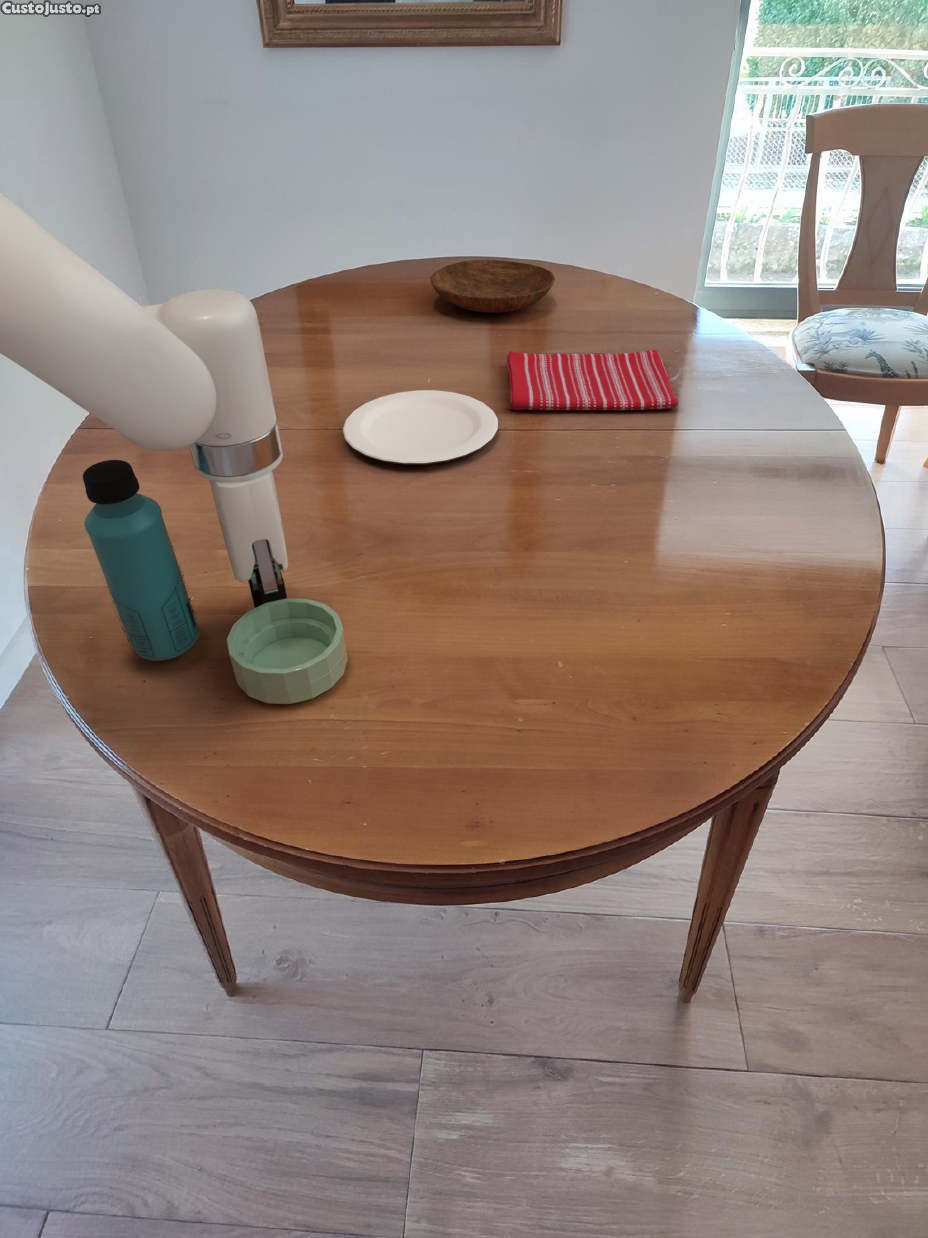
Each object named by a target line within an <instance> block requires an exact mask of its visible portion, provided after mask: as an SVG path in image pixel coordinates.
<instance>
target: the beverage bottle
mask: <svg viewBox="0 0 928 1238" xmlns="http://www.w3.org/2000/svg"><path fill="white" fill-rule="evenodd" d="M82 481H83V485H84V489H85V494H86V497H87V500H89V502H91V503H93V504H94V505H93V506H92V508H91V509H90V510H89V512H88V513H87V515H86V517H85V519H84V525H83V526H84V529H85V531H86V533H87V534H88V537H89V540H90V542H91V545H92V547H93V550H94V552H95V553H94V554H95V556H96V558H97V561H98V563H99V565H100V568H101V571H102V575H103V578H102V579H103V581H104V579H105V582H106V585H105V584H104V585H105V587H106V589H107V591H108V594H109V597H110V599H112V602H113V606H114V607H115V608H114V610H115V611H116V612H117V614H116V616H117V619H118V620H119V622H121V624H120V626H121V628H122V631H123V633H124V636H125V637H126V639H127V642H128V644H129V647H131V649H132V651H133V652H134V653H135V654H137V656H138V657H140V658H142V659H144V660H148V661H153V662H154V661H155V662H157V661H158V662H159V661H161V662H162V661H167V660H171V659H174V658H177V657H179V656H181V655H183V654H185V653H186V652H188V651H189V650H190V649H192V647H193V646H194V645H195V643H196V642H197V641H198V637H199V632H200V630H199V625H198V618H197V614H196V611H195V609H194V607H193V605H192V598H191V597H192V596H191V594H190V592H189V590H188V586H187V582H186V581H185V579H184V577H185V576H184V572H183V571H182V570H183V569H182V567H180V565H181V563H180V562H179V561H178V559H177V552H176V550H175V548H174V546H173V544H172V542H171V538H170V536H169V533H168V529H167V526H166V523H165V521H164V517H163V512H162V511H163V510H162V508H161V505H160V504H159V503H158V502H157V501H156V500H155V499H153V498H151V497H149V496H146V495H143V494H141V493H138V492H139V490H140V482H139V479H138V478H137V476H136V474H135V472H134V469H133V467H132V465H131V464H130V463H129V462H128V461H126V460H123V459H122V460H121V459H108V460H103V461H98V462H96V463H93V464H92V465H90V466H89V467H87V468H86V469H85V470H84V471H83V473H82ZM178 562H179V563H178Z"/></svg>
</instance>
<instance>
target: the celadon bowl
mask: <svg viewBox="0 0 928 1238" xmlns="http://www.w3.org/2000/svg"><path fill="white" fill-rule="evenodd" d="M340 617H341V616H340V615H339V614H338V613H337V612H336V611H335V610H334V609H332V608H331V607H330V606H329V605H327V604H326V603H322V602H319V601H316V600H313V599H310V598H291V597H289V598H288V597H287V599H282V600H277V601H273V602H268V603H265V604H263V605H261V606H259V607H256V608H255V607H254V608H252V609H250V610H248V611H247V612H245V613H244V614H243V615H242V616H241V617H240V618H238V620H236V621H235V622H234V623H233V624H232V627H231V629H230V631H229V634H228V636H227V637H226V644H227V651H228V655H229V659H230V663H231V667H232V669H233V673H234V678H235V681H236V683H237V685H238V687H239V688H240V689H241V690H242V691H244V693H245V694H246V695H247V696H248V697H249V698H252V699H254V700H257V701H259V702H262V703H265V704H272V705H273V704H275V705H278V704H279V705H292V704H298V703H301V702H305V701H308V700H312V699H314V698H316V697H318V696H319V695H321V694H323V693H325V692H327V691H329V690H330V689H332V688H333V687H335V684H337V682H339V680H340V679H341V678H342V677H343V676H344V674H345V671H346V667H347V664H348V660H349V659H348V658H349V657H348V656H349V655H348V651H347V650H348V649H347V645H346V644H347V643H346V638H345V631H344V627H343V624H342V620H341V618H340Z"/></svg>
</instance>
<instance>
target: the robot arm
mask: <svg viewBox="0 0 928 1238" xmlns="http://www.w3.org/2000/svg"><path fill="white" fill-rule="evenodd" d="M259 322H260V321H259V319H258V315H257V311H256V308H255V306H254V304H253V303H252V302H251V300H250V299H249V298H248V297H247V296H245V295H244V294H242V293H241V292H237V291H235V290H232V289H222V288H204V289H196V290H190V291H187V292H184V293H183V292H182V293H180V294H178V295H176V296H173V297H171V298H169V299H168V300H166V301H165V302H163V303H156V304H150V305H142V306H141V305H140V304H139V303H138V302H136V300H135V299H133V298H132V297H131V296H129V295H128V294H127V293H126V292H124V291H123V290H122V289H121V288H119V286H117V285H116V284H115V283H113V282H112V281H111V280H110V279H108V278H107V277H106V276H104V275H103V274H102V273H101V272H100V271H98V270H97V269H95V267H93V266H92V265H91V264H89V263H88V262H87V261H86V260H84V259H83V258H82V257H80V256H79V255H78V254H76V252H74V251H72V249H70V248H69V247H68V246H67V245H65V244H64V243H63V242H62V241H60V240H59V239H57V238H56V237H55V236H53V234H51V233H50V232H49V231H48V230H47V229H46V228H44V227H43V226H42V225H41V224H40V223H38V221H36V219H34V218H33V217H32V216H31V215H30V214H28V213H27V212H26V211H25V210H23V209H22V208H21V207H20V206H18V204H16V203H15V202H14V201H12V200H11V199H10V198H8V197H7V196H5V194H3V193H2V192H0V355H2V356H4V357H6V358H7V359H9V360H10V361H11V362H13V363H15V364H17V365H18V366H19V367H21V368H22V369H24V370H25V371H27V372H29V373H30V374H32V375H33V376H34V377H36V378H37V379H40V380H41V381H42V382H44V383H45V384H47V385H48V386H49V387H51V388H53V389H54V390H56V391H57V392H59V393H61V394H62V395H64V396H65V397H67V398H68V399H69V400H70V401H71V402H73V403H74V404H76V405H77V406H79V407H80V408H82V409H83V410H84V411H86V412H88V413H89V414H91V415H92V416H93V417H95V418H96V419H98V420H99V421H101V422H103V423H104V424H106V425H107V426H109V427H110V428H111V429H113V430H115V431H116V432H118V434H120V435H122V436H123V437H124V438H126V439H127V440H129V441H130V442H132V443H133V444H135V445H136V446H139V447H141V448H144V449H147V450H151V451H158V452H171V451H177V450H181V449H185V448H186V447H188V448H189V452H190V455H191V459H192V463H193V467H194V470H195V472H196V474H197V475H199V476H200V477H201V478H203V479H206V480H208V481H209V482H210V488H211V493H212V498H213V501H214V505H215V509H216V513H217V518H218V520H219V524H220V528H221V533H222V537H223V540H224V544H225V548H226V551H227V555H228V559H229V563H230V567H231V570H232V573H233V576H234V579H235V580H236V581H238V582H239V583H244V582H246V581H247V582H248V586H249V590H250V594H251V599H252V603H253V607H254V608H256V607H259V606H261V605H263V604H265V603H268V602H273V601H277V600H282V599H288V594H287V589H286V585H285V579H284V578H283V574H282V573H284V574H285V572H286V571H287V570H288V568H289V560H288V559H289V558H288V552H287V545H286V544H287V543H286V539H285V532H284V525H283V520H282V515H281V509H280V503H279V498H278V493H277V488H276V487H277V486H276V482H275V478H274V473H273V470H275V469H276V468H277V467H279V465H280V464H281V463H282V460H283V458H284V453H283V452H284V451H283V448H282V442H281V436H280V431H279V425H278V420H277V414H276V409H275V403H274V398H273V393H272V388H271V382H270V377H269V371H268V366H267V360H266V356H265V350H264V344H263V339H262V333H261V327H260V323H259Z"/></svg>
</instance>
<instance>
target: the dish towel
mask: <svg viewBox="0 0 928 1238" xmlns="http://www.w3.org/2000/svg"><path fill="white" fill-rule="evenodd" d="M506 369H507V372H508V375H509V376H508V377H509V378H508V379H509V389H510V391H509V409H510V410H513V411H522V410H523V411H524V410H529V411H596V410H597V411H636V410H637V411H644V410H665V409H674V408H677V406H678V405H679V400H678V399H677V397H676V395H675V392H674V389H673V387H672V384H671V381H670V378H669V376H668V373H667V370H666V368H665V366H664V362H663V360H662V357H661V355H660V353H659V351H658V350H657V349H648V350H641V351H634V352H632V353H628V352H623V353H597V354H594V353H589V354H587V353H580V354H579V353H553V354H544V353H526V352H523V353H522V352H518V351H513V350H510V351H508V355H507V356H506Z"/></svg>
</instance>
